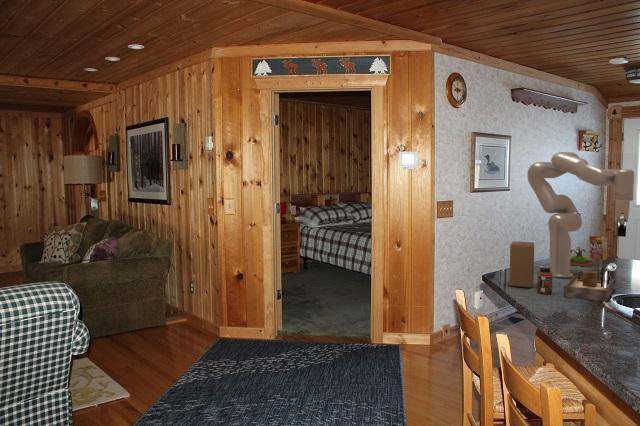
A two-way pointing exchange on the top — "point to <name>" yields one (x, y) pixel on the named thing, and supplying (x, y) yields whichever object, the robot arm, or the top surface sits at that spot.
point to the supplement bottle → (544, 281)
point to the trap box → (587, 290)
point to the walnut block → (590, 278)
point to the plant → (581, 260)
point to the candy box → (598, 247)
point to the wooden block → (522, 264)
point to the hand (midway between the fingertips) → (621, 235)
